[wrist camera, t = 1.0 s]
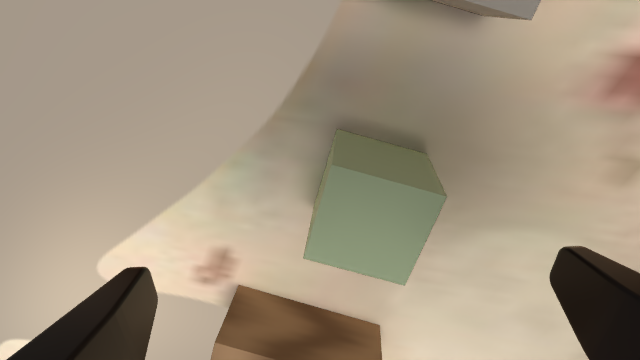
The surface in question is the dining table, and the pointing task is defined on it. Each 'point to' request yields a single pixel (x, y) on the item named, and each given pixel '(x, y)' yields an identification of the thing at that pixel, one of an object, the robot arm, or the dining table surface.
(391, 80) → the dining table surface
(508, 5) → the gray cube
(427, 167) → the sage cube
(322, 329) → the walnut block
